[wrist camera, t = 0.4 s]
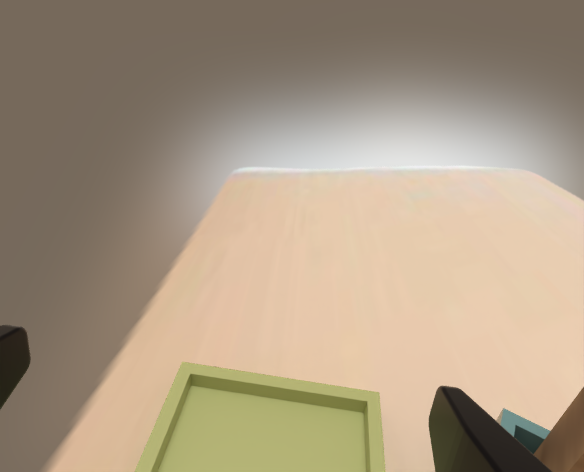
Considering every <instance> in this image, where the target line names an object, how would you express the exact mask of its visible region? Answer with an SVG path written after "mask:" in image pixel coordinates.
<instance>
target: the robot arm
mask: <svg viewBox="0 0 584 472" xmlns="http://www.w3.org/2000/svg"><path fill="white" fill-rule="evenodd" d="M29 364H30V350H29V344H28V336H27V332H26V330H25V329H24V328H23V327H19V326H11V325H2V326H0V409H1V408H2V406H3V405H4V403H5V402H6V400H7V399H8V397H9V396H10V395H11V393H12V392H13V390H14V389H15V387H16V386H17V384H18V383H19V381H20V380H21V378H22V377H23V375H24V374H25V372H26V371H27V369H28V367H29ZM429 431H430V438H431V444H432V451H433V458H434V465H435V471H436V472H552V471H551V470H550V469H549V468H548V467H547V466H546V465H545V464H543V463H542V462H541V461H540V460H539V459H538V458H537V457H536V456H535V455H533V454H532V453H531V452H530V451H529V450H528V449H527V448H526V447H525V446H523V445H522V444H521V443H520V442H519V441H518V440H517V439H516V438H514V437H513V436H512V435H511V434H510V433H509V432H508V431H507V430H506V429H504V428H503V427H502V426H501V425H500V424H499V423H498V422H497V421H496V420H494V419H493V418H492V417H491V416H490V415H489V414H488V413H487V412H486V411H484V410H483V409H482V408H481V407H480V406H479V405H478V404H477V403H476V402H474V401H473V400H472V399H471V398H470V397H469V396H468V395H467V394H465V393H464V392H463V391H462V390H461V389H459V388H456V387H449V386H440V387H439V388H438V389H437V391H436V394H435V398H434V401H433V405H432V408H431V412H430V415H429Z"/></svg>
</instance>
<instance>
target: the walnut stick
mask: <svg viewBox="0 0 584 472" xmlns="http://www.w3.org/2000/svg"><path fill="white" fill-rule="evenodd" d="M533 455H535V456H536V457H537V458H538V459H539V460H540V461H541V462H542V463H543V464H545V465H546V466H547V467H548V468H549V469H550V470H551V471H552V472H584V387H583V389H582V390H581V391H580V393H579V394H578V395H577V397H576V398H575V399H574V401H573V402H572V403H571V405H570V406H569V407H568V409H567V410H566V411H565V413H564V414H563V415H562V417H561V418H560V419H559V421H558V422H557V423H556V425H555V426H554V427H553V429H552V430H551V432H550V433H549V434H548V436H547V437H546V438H545V440H544V441H543V442H542V444H541V445H540V446H539V448H538V449H537V450H536V452H535V453H534V454H533Z"/></svg>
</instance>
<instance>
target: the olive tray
mask: <svg viewBox="0 0 584 472" xmlns="http://www.w3.org/2000/svg"><path fill="white" fill-rule="evenodd" d="M135 472H385V460H384V447H383V435H382V422H381V409H380V396H379V392H373V391H366V390H360V389H353V388H347V387H341V386H334V385H328V384H321V383H315V382H309V381H302V380H296V379H289V378H283V377H277V376H270V375H264V374H257V373H251V372H245V371H238V370H232V369H225V368H219V367H212V366H206V365H200V364H193V363H187V362H182V364H181V366H180V368H179V371H178V373H177V375H176V377H175V380H174V382H173V384H172V387H171V389H170V391H169V394H168V396H167V398H166V401H165V403H164V405H163V407H162V410H161V412H160V414H159V417H158V419H157V421H156V424H155V426H154V428H153V430H152V433H151V435H150V437H149V440H148V442H147V444H146V447H145V449H144V451H143V454H142V456H141V458H140V460H139V463H138V465H137V467H136V470H135Z"/></svg>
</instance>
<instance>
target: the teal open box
mask: <svg viewBox="0 0 584 472" xmlns="http://www.w3.org/2000/svg"><path fill="white" fill-rule="evenodd" d="M496 421H497V422H498V423H499V424H500V425H501V426H502V427H503V428H504V429H506V430H507V431H508V432H509V433H510V434H511V435H512V436H513V437H514V438H516V439H517V440H518V441H519V442H520V443H521V444H522V445H523V446H525V447H526V448H527V449H528V450H529V451H530V452H531V453H532V454H534V453H535V452H536V450H537V449H538V448H539V446H540V445H541V444H542V442H543V441H544V440H545V438H546V437H547V436H548V434H549V433H550V432H551V431H549V430H547V429H545V428H543V427H541V426H539V425H537V424H535V423H533V422H531V421H529V420H526V419H524V418H522V417H520V416H518V415H516V414H514V413H512V412H510V411H508V410H506V409H504V408H503V410H502V412H501V413H500V415H499V417H498V418H497V420H496Z"/></svg>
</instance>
